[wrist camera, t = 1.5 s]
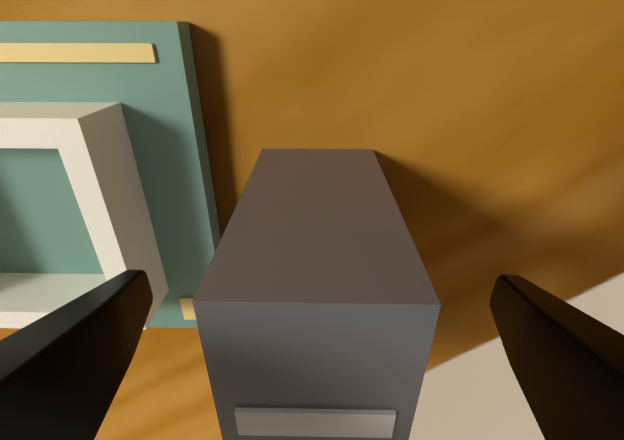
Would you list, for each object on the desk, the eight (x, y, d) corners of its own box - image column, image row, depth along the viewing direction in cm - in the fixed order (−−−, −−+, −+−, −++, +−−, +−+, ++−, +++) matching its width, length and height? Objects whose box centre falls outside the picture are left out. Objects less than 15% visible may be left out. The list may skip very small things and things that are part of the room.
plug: (373, 149, 12) (443, 309, 5) (363, 252, 15) (405, 461, 8) (262, 148, 13) (189, 306, 5) (269, 251, 15) (224, 458, 8)
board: (188, 21, 11) (175, 21, 10) (231, 312, 16) (226, 329, 15) (-195, 21, 11) (-245, 20, 10) (-17, 308, 17) (-38, 326, 16)
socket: (120, 102, 11) (77, 118, 9) (168, 290, 15) (145, 330, 13) (-118, 100, 11) (-212, 116, 9) (-10, 287, 15) (-59, 326, 13)
